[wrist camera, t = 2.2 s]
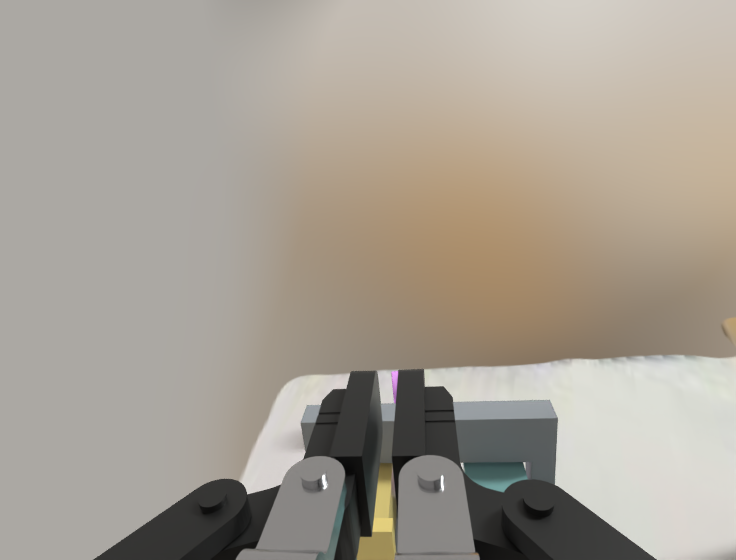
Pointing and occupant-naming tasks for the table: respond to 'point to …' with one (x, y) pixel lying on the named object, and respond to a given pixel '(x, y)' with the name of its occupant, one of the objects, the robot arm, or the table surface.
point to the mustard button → (382, 520)
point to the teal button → (495, 474)
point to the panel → (485, 434)
